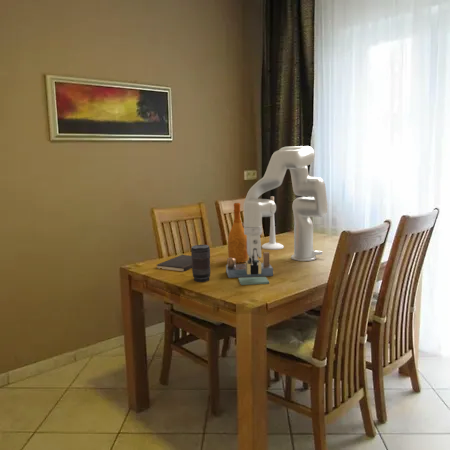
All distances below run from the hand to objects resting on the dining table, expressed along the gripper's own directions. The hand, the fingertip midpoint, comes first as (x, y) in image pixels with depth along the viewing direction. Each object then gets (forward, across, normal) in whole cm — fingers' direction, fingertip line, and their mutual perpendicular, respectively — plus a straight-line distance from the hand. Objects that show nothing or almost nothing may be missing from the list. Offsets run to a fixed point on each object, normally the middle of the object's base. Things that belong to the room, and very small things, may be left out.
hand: (253, 272), depth 189 cm
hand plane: (+4, +12, 0) cm, 13 cm away
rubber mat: (+4, 0, 0) cm, 4 cm away
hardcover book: (+5, +36, +30) cm, 47 cm away
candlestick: (+4, +66, -22) cm, 70 cm away
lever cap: (0, 0, 0) cm, 0 cm away
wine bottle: (+4, +36, +2) cm, 37 cm away
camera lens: (+4, +6, +22) cm, 23 cm away
